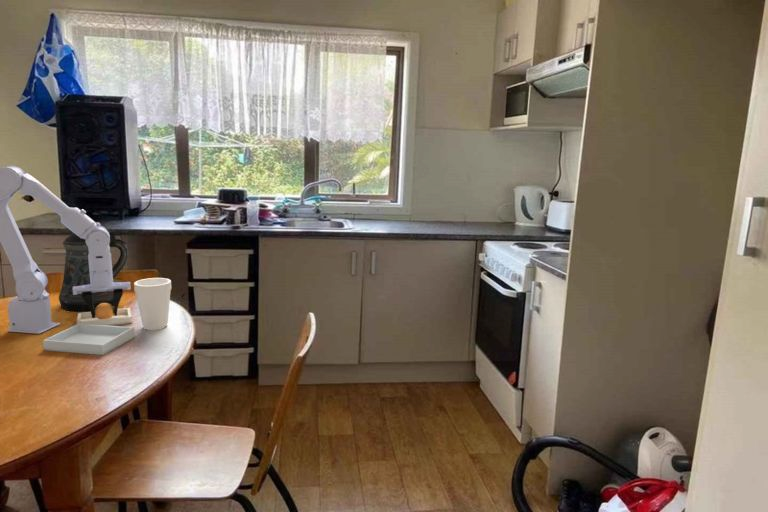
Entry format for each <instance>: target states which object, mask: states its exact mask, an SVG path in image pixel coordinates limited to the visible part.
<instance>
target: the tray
mask: <svg viewBox="0 0 768 512" xmlns="http://www.w3.org/2000/svg"><path fill="white" fill-rule="evenodd" d="M134 338H135V327H134V326H122V325H113V326H108V325H94V324H81V323H78V324H77V323H76V324H74V325H72V326H71V327H68V328H66V329H64V330H62V331H60V332H58V333H56V334H53V335H52V336H49V337H47V338H45V339H43V340H42V345H43V351H47V352H60V353H70V354H71V353H73V354H84V355H85V354H87V355H98V356H105V355H107V354H108V353H110V352H112V351H114V350H115V349H117V348H118V347H120V346H122V345H123V344H125V343H126V342H128V341H130V340H132V339H134Z"/></svg>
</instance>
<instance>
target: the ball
mask: <svg viewBox="0 0 768 512" xmlns="http://www.w3.org/2000/svg"><path fill="white" fill-rule="evenodd" d="M94 312H95V316H96V317H97V318H98V319H107V318H111V317H112V316H113V314H114V306H112V305H110V304H108V303H101V304H99V305H98V306H97V307H96V308H95V311H94Z"/></svg>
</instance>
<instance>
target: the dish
mask: <svg viewBox="0 0 768 512" xmlns="http://www.w3.org/2000/svg"><path fill="white" fill-rule="evenodd" d="M131 311H132V310H131V307H123V308H118V309H117V316H114V314H113V316H112V317H111V318H107V319H98V318H97V317H96V316H95V318H92V315H91V312H77V319H76V324H78V323H81V324H94V325H108V326H122V325H128V324H129V323H130V324H133V319H132V312H131Z"/></svg>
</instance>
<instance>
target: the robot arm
mask: <svg viewBox="0 0 768 512" xmlns="http://www.w3.org/2000/svg"><path fill="white" fill-rule="evenodd" d="M18 191H19V192H18ZM17 192H18V194H20V195H26V196H29V197H30V196H31V197H33V198H35V199H36V200H37V201H39V202H40V203H42V204H43V205H45V206H46V207H47V208H48V209H50V210H52V211H53V212H54V213H55V214H57V215H58V216H59V217H60V223H61V224H62V225H64V226H65V227H66V228H67V229H69V230H70V231H71V232H72V233H75V234H76V235H77V236H79V237H80V238H83V239H85V242H86V244H87V246H88V250H89V254H88V261H89V273H90V284H88V285H82V286H74V287H73V295H77V294H82V298H83V300H84V301H85V302H86V304H87V306H88V307H89V309H90V312H91V315H92V318H95V312H94V305H93V292H104V291H113V296H114V306H113V308H114V316H117V309H119V305H120V302H121V299H122V296H123V294H124V291H123V290H125V291H130V290H131V289H132V288H131V282H130V281H125V282H124V281H121V282H120V281H117V282H116V281H114V279H113V274H112V268H113V263H112V253H111V247H110V246H109V243H110V235H109V232H108V231H107V230H108V229H106V227H105V226H102V225H101V223H100V222H96V221H94V219H92V218H91V217H90V216H89V215H87V214H86V213H87V211H86V210H85V209H83V208H82V209H80V208H78V207H70V206H68V205H67V204H66V203H65V202H64V201H63V200H62V199H60V198H59V197H58V196H56V195H55V193H53V192H52V191H51V190H50V189H49V188H47V187H46V186H45V185H44V184H42V182H40V181H39V180H38V179H37V178H35V177H34V176H32V175H31V174H29V173H26V172H25V171H24V170H23V169H22V168H20V167H19V166H16V165H7V166H4V167H0V244H1V247H2V249H3V250H4V252H5V255H6V257H7V259H8V261H9V264H10V265H11V267H12V276H13V278H14V281H15V293H16V295H17V296H15V297H13V298H11V300H10V301H9V303H8V304H7V305H8V306H7V313H8V321H9V323H8V324H9V328H8V329H7V332H12V333H25V334H36V335H37V334H39V335H40V334H42V333H45V332H46V331H49V330H51V329H53V328H56V327H57V326H60V325H61V323H60V322H53V320H52V319H53V318H52V310H51V302H50V293H49V292H47V290H46V287H47V285H48V283H49V279H48V276H47V275H46V273H44V272H43V271H42V270H41V269H40V268H39V266H38V264H37V263H36V261H34V260H33V257H32V255H31V253H30V251H29V249H28V246H27V244H26V242H25V240H24V237H23V236H22V233H21V231H20V229H19V227H18V225H17V222H16V219H15V218H14V216H13V214H12V212H11V209H10V207H9V204H10V202H11V200H12V199H13V196H14V195H15V193H17Z"/></svg>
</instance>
